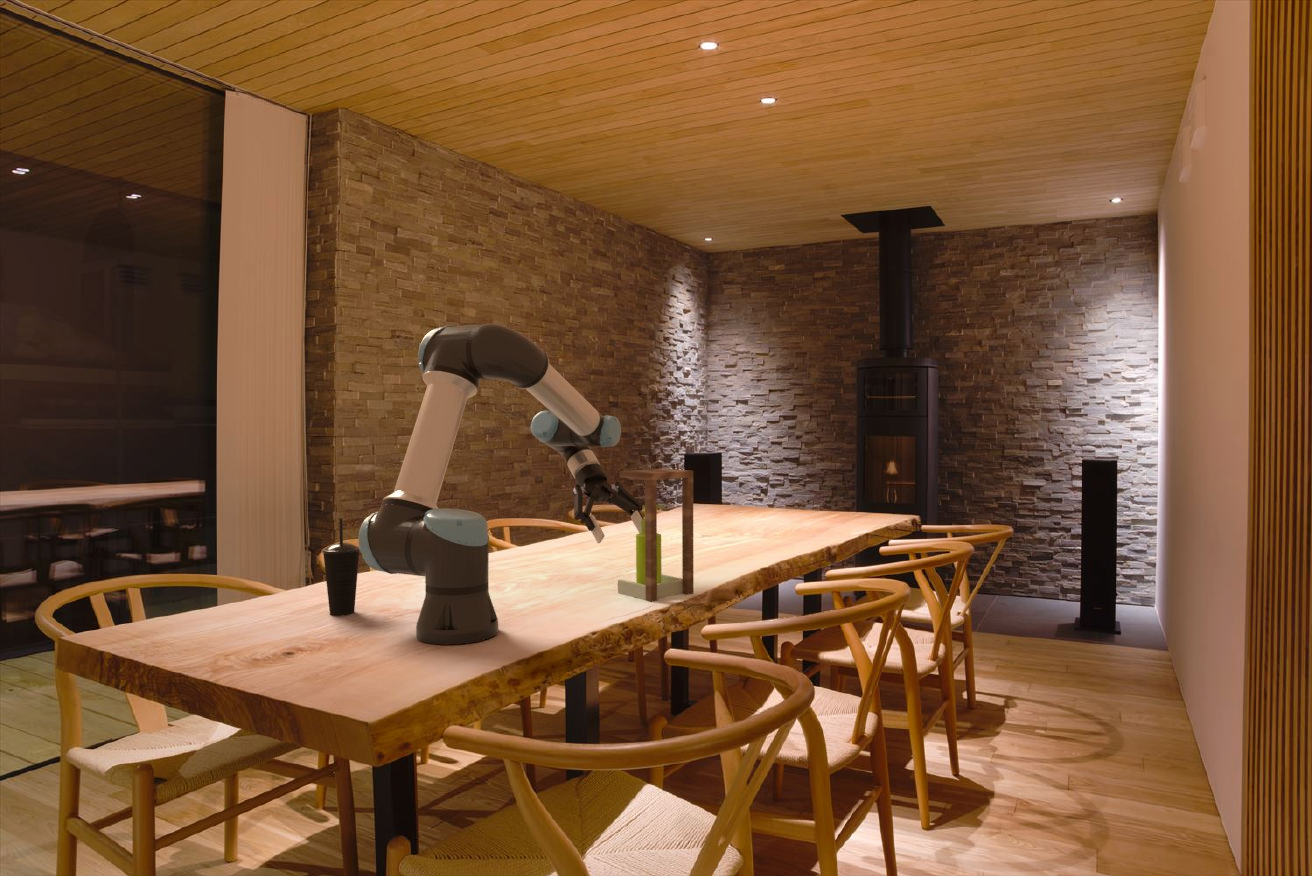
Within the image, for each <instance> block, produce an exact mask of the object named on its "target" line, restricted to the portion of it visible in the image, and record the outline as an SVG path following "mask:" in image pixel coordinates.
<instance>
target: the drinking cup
mask: <svg viewBox="0 0 1312 876" xmlns="http://www.w3.org/2000/svg"><path fill="white" fill-rule="evenodd" d="M338 520H339V521H338V522H339V523H338V524H339V526H338V527H339V528H338V529H339V542H337V543H333V544H329V545H328V546H327V547H325V548H322V549H321V553H322V554H323V562H324V571H325V581H326V591H327V592H326V593H327V599H328V601H327V602H328V607H329V615H330V616H334V617H336V616H337V617H341V616H342V615H344V616H349V615H352V614H353V615H354V613H355V609H356V608H355V605H356V595H357V581H358V572H359V571H358V570H359V561H360V560H359V559H360V549H359V545H358V546H357V545H356V544H353V543H349V542H344V518H342V517H339V519H338Z"/></svg>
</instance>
